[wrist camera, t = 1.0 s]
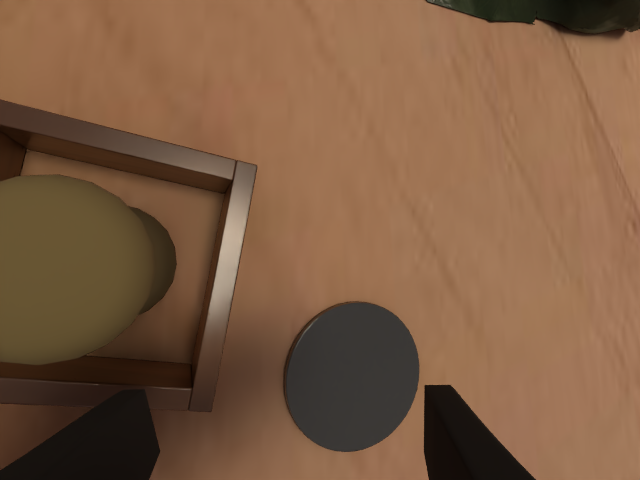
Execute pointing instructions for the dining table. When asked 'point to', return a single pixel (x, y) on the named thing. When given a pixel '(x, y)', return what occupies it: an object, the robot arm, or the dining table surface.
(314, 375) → the silver flat disc
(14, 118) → the frame
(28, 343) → the cork
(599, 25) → the rose bouquet
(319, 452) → the dining table surface
